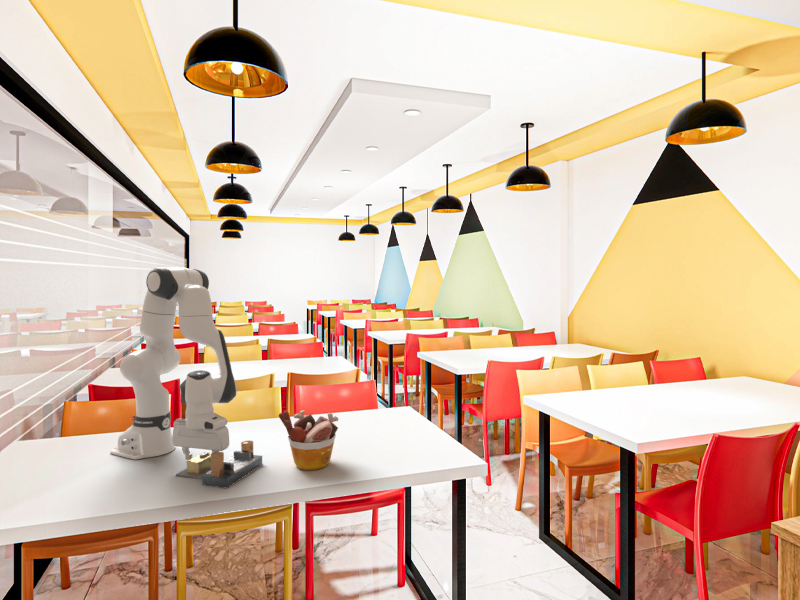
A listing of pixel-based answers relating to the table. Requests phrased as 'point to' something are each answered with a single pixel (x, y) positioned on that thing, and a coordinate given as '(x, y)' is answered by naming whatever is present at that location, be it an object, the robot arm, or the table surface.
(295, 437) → the fried chicken
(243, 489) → the table surface
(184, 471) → the mat
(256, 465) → the hand plane
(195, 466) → the tan rectangular block
